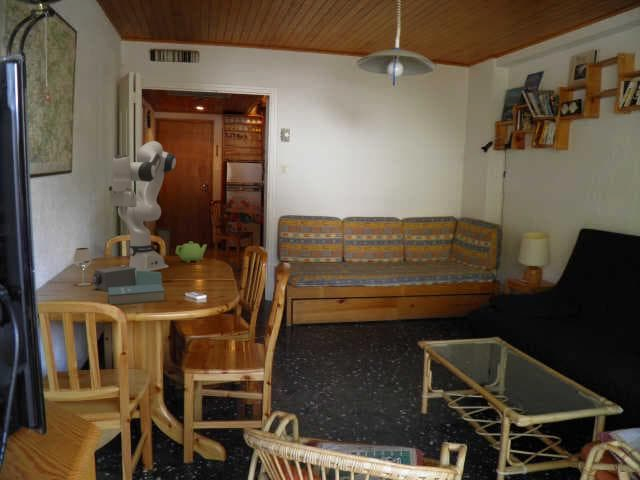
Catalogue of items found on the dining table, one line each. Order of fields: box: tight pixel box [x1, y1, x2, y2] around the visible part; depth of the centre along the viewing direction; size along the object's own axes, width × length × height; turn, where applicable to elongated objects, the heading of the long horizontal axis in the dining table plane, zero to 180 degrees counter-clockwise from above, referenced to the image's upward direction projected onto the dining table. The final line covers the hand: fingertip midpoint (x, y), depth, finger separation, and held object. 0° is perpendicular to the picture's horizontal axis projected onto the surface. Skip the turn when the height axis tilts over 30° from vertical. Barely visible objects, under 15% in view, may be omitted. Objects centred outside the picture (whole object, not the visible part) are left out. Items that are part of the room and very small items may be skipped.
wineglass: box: [73, 247, 93, 287], centre depth 261 cm, size 8×8×18 cm
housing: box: [92, 264, 136, 292], centre depth 256 cm, size 18×10×10 cm, turn 139°
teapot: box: [174, 241, 208, 264], centre depth 331 cm, size 20×13×13 cm
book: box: [107, 284, 166, 306], centre depth 234 cm, size 23×16×5 cm
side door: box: [135, 270, 164, 286], centre depth 257 cm, size 15×2×8 cm, turn 69°
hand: (123, 215), depth 264 cm, fingers closed
